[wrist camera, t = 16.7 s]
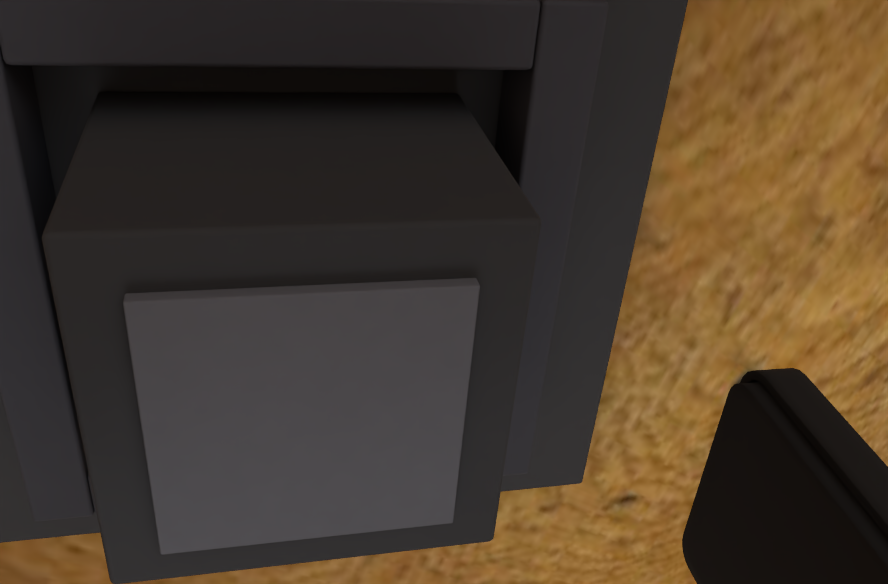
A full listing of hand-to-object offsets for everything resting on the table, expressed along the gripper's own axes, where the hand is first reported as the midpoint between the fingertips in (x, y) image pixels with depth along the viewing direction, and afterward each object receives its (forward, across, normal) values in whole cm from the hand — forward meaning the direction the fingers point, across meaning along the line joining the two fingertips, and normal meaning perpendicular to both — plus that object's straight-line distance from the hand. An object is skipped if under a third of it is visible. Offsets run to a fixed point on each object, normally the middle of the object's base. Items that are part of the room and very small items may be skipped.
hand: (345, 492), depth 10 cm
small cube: (+6, 0, 0) cm, 6 cm away
